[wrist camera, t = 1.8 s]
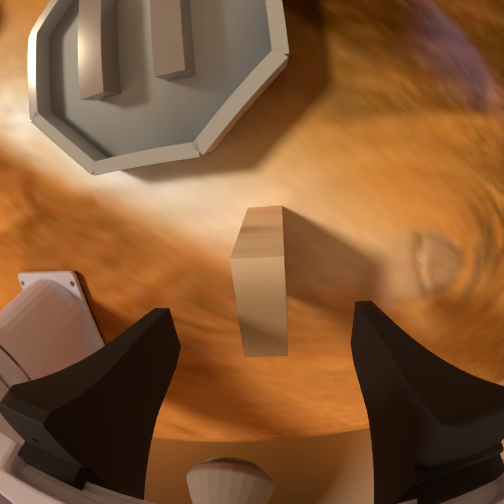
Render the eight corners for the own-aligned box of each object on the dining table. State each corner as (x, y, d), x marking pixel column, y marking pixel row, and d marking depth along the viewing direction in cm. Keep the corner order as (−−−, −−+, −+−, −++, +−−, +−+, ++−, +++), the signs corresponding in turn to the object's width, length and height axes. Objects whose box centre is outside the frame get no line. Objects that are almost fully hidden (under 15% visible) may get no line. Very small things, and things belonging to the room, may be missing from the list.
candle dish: (295, 145, 16) (298, 149, 13) (62, 180, 18) (35, 191, 15) (266, -73, 9) (263, -98, 7) (54, -8, 11) (30, -16, 8)
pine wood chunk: (286, 280, 19) (287, 355, 13) (255, 281, 20) (244, 356, 13) (281, 205, 17) (283, 256, 11) (247, 207, 18) (229, 259, 11)
